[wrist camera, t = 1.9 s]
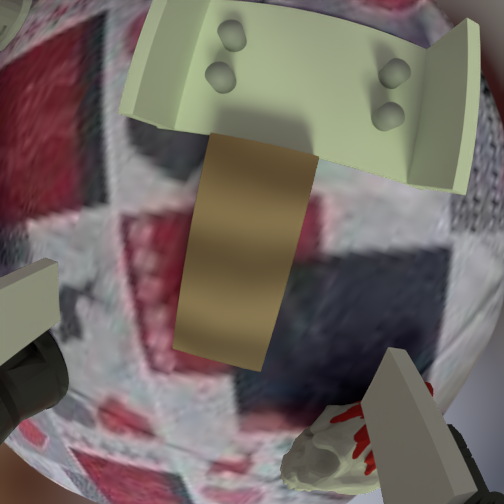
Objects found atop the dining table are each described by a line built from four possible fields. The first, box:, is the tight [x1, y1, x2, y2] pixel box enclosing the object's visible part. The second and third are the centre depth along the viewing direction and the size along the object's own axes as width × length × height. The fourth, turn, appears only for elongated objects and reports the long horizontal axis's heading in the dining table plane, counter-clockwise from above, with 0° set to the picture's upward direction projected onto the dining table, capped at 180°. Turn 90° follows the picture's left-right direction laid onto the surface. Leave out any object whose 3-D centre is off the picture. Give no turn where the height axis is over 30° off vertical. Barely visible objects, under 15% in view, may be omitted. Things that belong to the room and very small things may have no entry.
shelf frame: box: [118, 0, 480, 195], centre depth 17 cm, size 21×12×8 cm, turn 78°
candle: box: [280, 382, 433, 495], centre depth 23 cm, size 9×11×15 cm
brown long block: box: [173, 132, 319, 372], centre depth 22 cm, size 16×7×4 cm, turn 167°
